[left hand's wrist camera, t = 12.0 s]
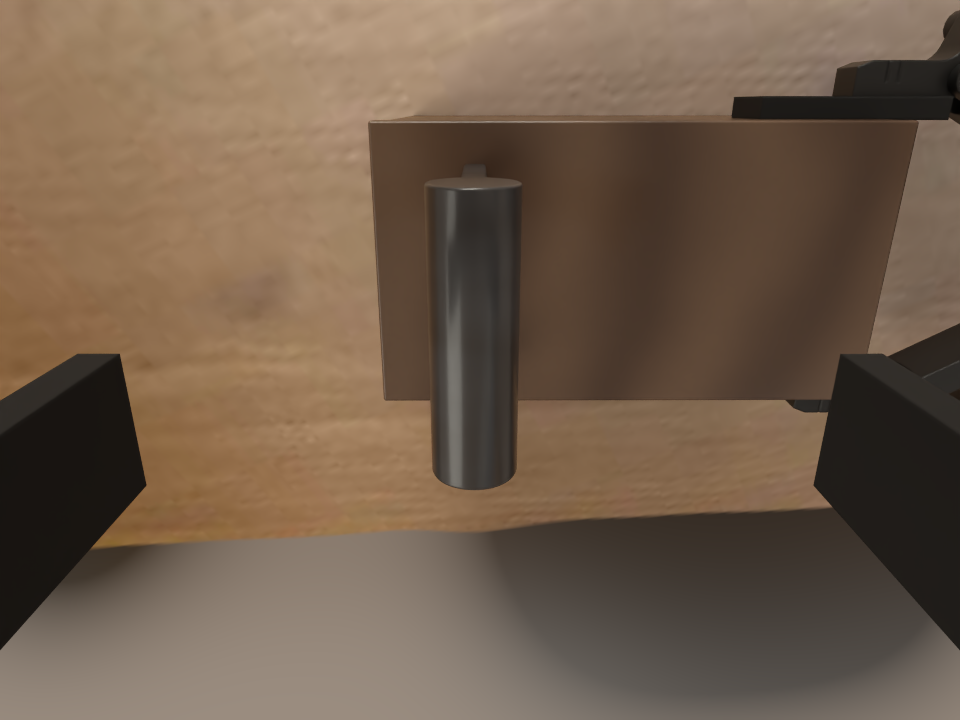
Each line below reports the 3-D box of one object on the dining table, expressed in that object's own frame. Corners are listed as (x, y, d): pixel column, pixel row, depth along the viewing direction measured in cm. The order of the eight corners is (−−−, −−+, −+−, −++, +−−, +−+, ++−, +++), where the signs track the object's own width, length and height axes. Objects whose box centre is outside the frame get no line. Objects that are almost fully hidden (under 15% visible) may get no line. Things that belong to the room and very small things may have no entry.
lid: (388, 388, 25) (342, 530, 17) (373, 120, 22) (306, 129, 13) (841, 387, 25) (1022, 529, 17) (897, 119, 22) (1161, 129, 13)
